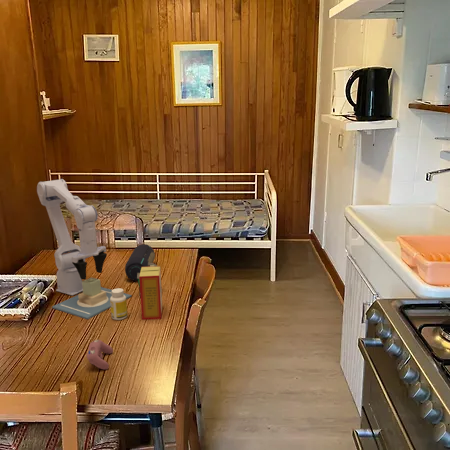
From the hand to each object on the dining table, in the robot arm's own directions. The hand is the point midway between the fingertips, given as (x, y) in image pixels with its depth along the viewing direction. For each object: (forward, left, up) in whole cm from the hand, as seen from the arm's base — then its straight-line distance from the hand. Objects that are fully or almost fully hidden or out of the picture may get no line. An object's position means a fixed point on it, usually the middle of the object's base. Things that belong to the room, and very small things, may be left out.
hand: (91, 275), depth 171 cm
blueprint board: (0, 0, -10) cm, 10 cm away
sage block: (0, 0, -7) cm, 7 cm away
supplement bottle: (+17, -4, -11) cm, 21 cm away
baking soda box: (+25, +4, -11) cm, 27 cm away
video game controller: (+32, -28, -11) cm, 44 cm away
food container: (+13, +18, -11) cm, 24 cm away
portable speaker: (-5, +32, -11) cm, 35 cm away
